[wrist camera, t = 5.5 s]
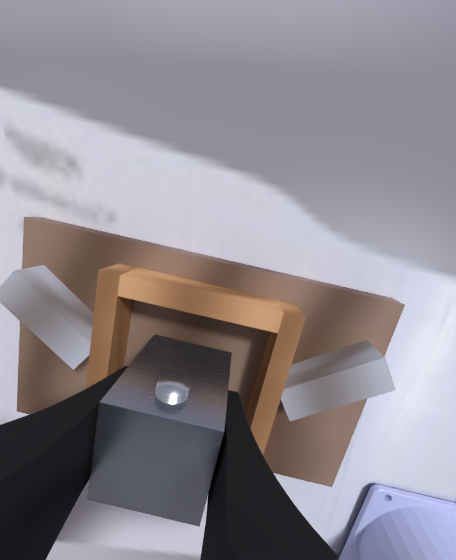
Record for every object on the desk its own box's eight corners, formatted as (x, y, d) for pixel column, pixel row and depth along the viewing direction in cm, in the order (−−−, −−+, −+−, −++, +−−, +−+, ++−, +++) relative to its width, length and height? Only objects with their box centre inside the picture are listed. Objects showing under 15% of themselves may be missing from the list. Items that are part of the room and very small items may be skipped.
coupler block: (233, 345, 13) (227, 421, 8) (213, 424, 14) (197, 534, 9) (155, 327, 13) (100, 391, 8) (141, 407, 14) (86, 507, 9)
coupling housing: (391, 298, 14) (433, 319, 11) (325, 468, 17) (344, 524, 14) (42, 217, 14) (-15, 215, 11) (32, 398, 17) (-16, 437, 14)
